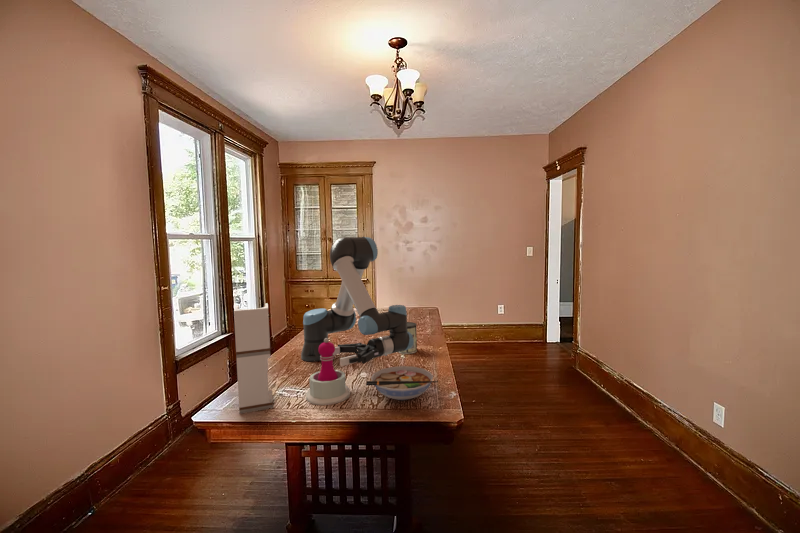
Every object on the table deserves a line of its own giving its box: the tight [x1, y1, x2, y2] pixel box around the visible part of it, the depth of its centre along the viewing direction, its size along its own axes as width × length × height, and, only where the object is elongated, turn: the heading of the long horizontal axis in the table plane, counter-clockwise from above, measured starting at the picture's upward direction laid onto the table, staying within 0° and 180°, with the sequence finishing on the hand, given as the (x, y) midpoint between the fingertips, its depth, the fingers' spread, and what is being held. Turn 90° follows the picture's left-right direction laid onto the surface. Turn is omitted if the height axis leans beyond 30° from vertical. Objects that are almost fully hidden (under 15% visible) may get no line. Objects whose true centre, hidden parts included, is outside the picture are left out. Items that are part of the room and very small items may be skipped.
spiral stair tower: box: [233, 302, 274, 414], centre depth 129 cm, size 11×11×35 cm
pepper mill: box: [318, 337, 338, 381], centre depth 135 cm, size 7×7×20 cm
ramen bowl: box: [365, 365, 439, 401], centre depth 133 cm, size 25×23×8 cm
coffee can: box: [398, 321, 418, 355], centre depth 188 cm, size 10×10×14 cm
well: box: [305, 369, 351, 406], centre depth 135 cm, size 16×16×8 cm
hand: (331, 357), depth 135 cm, fingers open, 13 cm apart
